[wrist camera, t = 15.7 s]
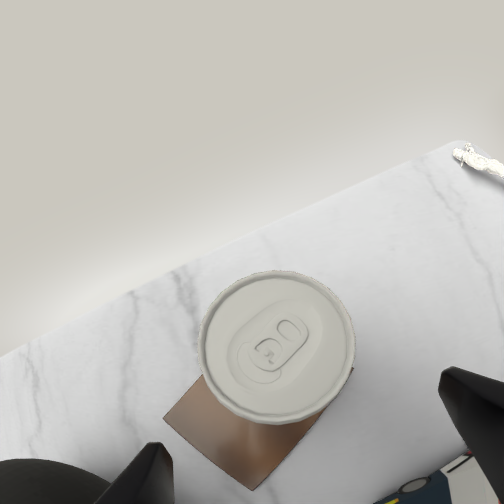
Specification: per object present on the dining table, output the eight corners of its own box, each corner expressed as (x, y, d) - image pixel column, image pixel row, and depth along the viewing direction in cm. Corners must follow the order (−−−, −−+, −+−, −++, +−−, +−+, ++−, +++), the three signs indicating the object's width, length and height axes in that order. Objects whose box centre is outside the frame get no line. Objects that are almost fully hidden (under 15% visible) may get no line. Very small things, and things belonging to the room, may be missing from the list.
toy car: (366, 500, 13) (390, 522, 9) (521, 400, 14) (558, 391, 10) (378, 546, 11) (400, 573, 7) (529, 444, 12) (565, 441, 8)
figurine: (549, 162, 17) (454, 130, 23) (534, 221, 21) (446, 190, 28) (536, 148, 21) (456, 122, 28) (525, 198, 25) (450, 173, 32)
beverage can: (226, 379, 19) (160, 342, 8) (275, 330, 20) (272, 238, 10) (277, 427, 17) (278, 461, 6) (327, 375, 18) (392, 333, 8)
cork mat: (252, 489, 15) (252, 491, 15) (164, 418, 18) (162, 418, 17) (352, 368, 19) (354, 368, 18) (262, 306, 22) (262, 304, 21)
